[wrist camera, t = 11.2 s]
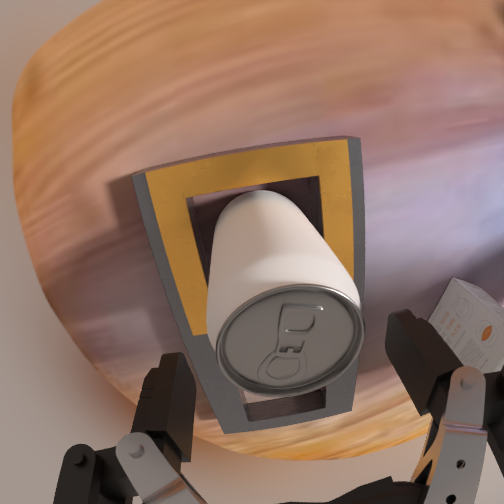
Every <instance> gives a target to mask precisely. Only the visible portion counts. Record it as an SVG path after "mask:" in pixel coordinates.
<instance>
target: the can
mask: <svg viewBox="0 0 504 504" xmlns="http://www.w3.org/2000/svg"><path fill="white" fill-rule="evenodd" d="M206 325H207V333H208V337H209V340H210V343H211V345H212V347H213V349H214V350H215V353H216V359H217V363H218V365H219V368H220V370H221V371H222V373H223V374H224V375H225V377H226V378H227V379H228V380H229V381H230V382H231V383H233V384H234V385H235V386H237V387H239V388H240V389H242V390H244V391H247V392H249V393H252V394H256V395H260V396H265V397H291V396H297V395H301V394H305V393H309V392H311V391H314V390H317V389H319V388H321V387H323V386H325V385H327V384H329V383H330V382H332V381H334V380H335V379H336V378H338V377H339V376H340V375H341V374H343V373H344V372H345V371H346V370H347V369H348V368H349V367H350V366H351V364H352V363H353V362H354V360H355V359H356V357H357V356H358V354H359V352H360V350H361V348H362V345H363V342H364V337H365V323H364V318H363V315H362V313H361V311H360V298H359V294H358V291H357V288H356V286H355V284H354V282H353V280H352V278H351V277H350V275H349V274H348V272H347V271H346V269H345V268H344V266H343V265H342V264H341V262H340V261H339V259H338V258H337V257H336V255H335V254H334V253H333V251H332V250H331V249H330V247H329V246H328V245H327V243H326V242H325V241H324V239H323V238H322V237H321V236H320V234H319V233H318V232H317V230H316V229H315V228H314V227H313V225H312V224H311V223H310V222H309V220H308V219H307V218H306V217H305V215H304V214H303V213H302V212H301V210H300V209H299V208H298V207H297V206H296V205H295V204H294V203H293V202H292V201H291V200H290V199H288V198H287V197H285V196H283V195H281V194H279V193H276V192H272V191H266V190H258V191H251V192H247V193H245V194H242V195H240V196H238V197H236V198H235V199H233V200H232V201H231V202H230V203H229V204H227V206H226V207H225V208H224V209H223V210H222V212H221V214H220V215H219V217H218V220H217V223H216V226H215V231H214V238H213V246H212V255H211V265H210V275H209V285H208V297H207V310H206Z"/></svg>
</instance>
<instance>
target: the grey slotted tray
mask: <svg viewBox="0 0 504 504" xmlns="http://www.w3.org/2000/svg"><path fill="white" fill-rule="evenodd" d="M304 177H309V185H310V194H311V204H312V215H313V226H314V228H315V229H316V230H317V232H318V233H319V234H320V236H321V237H322V238H323V239H324V241H325V242H326V243H327V245H328V246H329V247H330V249H331V250H332V251H333V253H334V254H335V255H336V257H337V258H338V259H339V261H340V262H341V264H342V265H343V266H344V268H345V269H346V271H347V272H348V274H349V275H350V277H351V278H352V280H353V282H354V284H355V286H356V288H357V291H358V294H359V298H360V311H361V313H362V315H363V300H364V277H365V205H364V182H363V166H362V153H361V142H360V138H357V137H351V136H336V137H325V138H314V139H305V140H297V141H288V142H281V143H273V144H266V145H260V146H253V147H247V148H241V149H235V150H229V151H224V152H219V153H213V154H208V155H203V156H198V157H193V158H189V159H184V160H180V161H175V162H171V163H167V164H162V165H158V166H154V167H150V168H146V169H142V170H141V171H139V172H137V173H136V174H134V175H132V180H133V184H134V188H135V192H136V196H137V200H138V204H139V208H140V211H141V215H142V219H143V222H144V226H145V229H146V233H147V236H148V239H149V243H150V246H151V249H152V253H153V256H154V259H155V262H156V265H157V268H158V271H159V275H160V278H161V281H162V284H163V286H164V289H165V292H166V295H167V298H168V301H169V304H170V307H171V309H172V312H173V315H174V318H175V320H176V323H177V326H178V328H179V331H180V334H181V336H182V339H183V341H184V344H185V346H186V349H187V351H188V354H189V356H190V359H191V361H192V364H193V366H194V368H195V371H196V373H197V376H198V378H199V380H200V383H201V385H202V387H203V389H204V392H205V394H206V396H207V398H208V401H209V403H210V405H211V407H212V409H213V412H214V414H215V416H216V418H217V420H218V422H219V424H220V426H221V428H222V430H223V432H224V434H230V433H239V432H248V431H255V430H263V429H269V428H275V427H281V426H287V425H292V424H298V423H303V422H307V421H312V420H317V419H321V418H325V417H329V416H333V415H337V414H341V413H345V412H349V411H352V405H353V399H354V392H355V385H356V377H357V369H358V361H359V354H358V356H357V357H356V359H355V360H354V362H353V363H352V364H351V366H350V367H349V368H348V369H347V370H346V371H345V372H344V373H343V374H341V375H340V376H339V377H338V378H336V379H335V380H334V381H332V382H330V383H329V384H327V385H325V386H323V387H321V388H320V391H316V392H311V393H306V394H301V395H297V396H291V397H286V398H281V399H275V400H269V401H263V402H256V403H249V404H247V402H246V398H245V395H244V392H243V390H242V389H240V388H239V387H237V386H235V385H234V384H233V383H231V382H230V381H229V380H228V379H227V378H226V377H225V375H224V374H223V373H222V371H221V370H220V368H219V365H218V363H217V359H216V353H215V350H214V349H213V347H212V345H211V343H210V340H209V337H208V333H207V325H206V310H207V297H208V285H209V275H210V269H209V264H208V260H207V256H206V252H205V248H204V244H203V240H202V236H201V231H200V227H199V223H198V218H197V214H196V210H195V205H194V201H193V196H197V195H202V194H207V193H212V192H218V191H223V190H229V189H234V188H240V187H246V186H251V185H257V184H264V183H270V182H276V181H283V180H290V179H296V178H304Z"/></svg>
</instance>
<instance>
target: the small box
mask: <svg viewBox="0 0 504 504" xmlns="http://www.w3.org/2000/svg"><path fill="white" fill-rule="evenodd" d="M428 322H429V323H430V324H432V325H433V327H434V328H435V329H436V330H437V332H438V334H440V335H441V337H442V338H443V340H444V341H445V342H446V343H447V344H448V346H449V347H450V348H451V349H452V351H453V352H454V353H455V355H456V356H457V357H458V359H459V360H460V361H461V363H462V364H463V365H464V366H471V367H474V368H476V369H478V370H480V371H481V372H482V374H484V373H491V372H496V371H501V369H502V367H503V365H504V308H503V307H502V306H501V305H500V304H499V303H498V302H496V301H495V300H494V299H493V298H492V297H491V296H490V295H488V294H487V293H486V292H485V291H484V290H483V289H481V288H480V287H479V286H477V285H474V284H471V283H468V282H466V281H463V280H460V279H457V278H454V277H453V278H452V279H451V281H450V283H449V285H448V286H447V288H446V290H445V292H444V294H443V296H442V297H441V299H440V301H439V303H438V305H437V306H436V308H435V310H434V312H433V313H432V315H431V317H430V318H429V320H428Z"/></svg>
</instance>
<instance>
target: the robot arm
mask: <svg viewBox="0 0 504 504" xmlns="http://www.w3.org/2000/svg"><path fill="white" fill-rule="evenodd" d="M385 349H386V353H387V356H388V358H389V359H390V361H391V363H392V365H393V366H394V368H395V370H396V372H397V374H398V375H399V377H400V379H401V381H402V383H403V384H404V386H405V388H406V390H407V392H408V394H409V396H410V397H411V399H412V401H413V403H414V405H415V407H416V409H417V411H418V413H419V414H420V416H422V415H425V414H427V413H429V412H430V413H431V415H432V419H431V422H430V426H429V430H428V433H427V437H426V441H425V444H424V447H423V451H422V454H421V457H420V460H419V463H418V465H417V467H416V469H415V471H414V473H413V475H412V477H411V480H410V482H406V481H401V482H400V481H398V482H393V480H392V477H391V476H389V477H386V478H384V479H381V480H378V481H375V482H372V483H368V484H365V485H363V486H360V487H357V488H356V489H354V490H352V491H350V492H348V493H346V494H344V495H342V496H340V497H338V498H336V499H334V500H332V501H329V502H324V503H307V502H286V503H280V504H474V501H475V497H476V494H477V490H478V486H479V481H480V476H481V472H482V467H483V462H484V455H485V450H486V443H487V442H488V443H489V446H490V448H491V450H492V452H493V454H494V456H495V459H496V461H497V463H498V465H499V468H500V470H501V472H502V474H503V477H504V365H503V367H502V369H501V371H496V372H491V373H484V374H482V372H481V371H480V370H478V369H476V368H474V367H471V366H464V365H463V364H462V363H461V361H460V360H459V359H458V357H457V356H456V355H455V353H454V352H453V351H452V349H451V348H450V347H449V346H448V344H447V343H446V342H445V341H444V340H443V338H442V337H441V335H440V334H438V332H437V330H436V329H435V328H434V327H433V325H432V324H430V323H429V322H427V321H425V320H424V319H422V318H419V319H416V317H415V316H414V315H413V314H412V312H411V311H410V310H409V309H405V310H401V311H398V312H394V313H391V314H390V315H389V318H388V325H387V333H386V340H385ZM195 401H196V384H195V380H194V377H193V375H192V373H191V370H190V368H189V366H188V363H187V361H186V359H185V356H184V354H183V353H182V352H178V353H169V354H163V355H162V356H161V360H160V364H159V368H152V369H151V370H150V371H149V373H148V374H147V375H146V377H145V378H144V382H143V386H142V391H141V393H140V400H139V401H138V405H137V409H136V413H135V417H134V421H133V425H132V429H131V433H130V434H127V435H125V436H124V437H123V438H122V439H121V440H120V441H119V442H118V444H117V446H115V447H112V448H107V449H103V450H98V451H94V450H93V449H92V448H91V447H90V446H88V445H86V444H77V445H74V446H72V447H71V448H70V449H68V451H67V452H66V454H65V456H64V459H63V463H62V467H61V471H60V475H59V479H58V483H57V488H56V492H55V497H54V502H53V504H132V500H133V497H134V496H140V497H141V499H142V501H143V503H142V504H208V503H207V502H206V501H205V500H204V499H203V498H202V497H201V495H200V494H199V493H198V492H197V491H196V490H195V489H194V487H193V486H192V485H191V484H190V483H189V481H188V480H187V479H186V478H185V476H184V475H183V474H182V473H181V472H180V469H181V462H191V450H192V437H193V424H194V412H195Z"/></svg>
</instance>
